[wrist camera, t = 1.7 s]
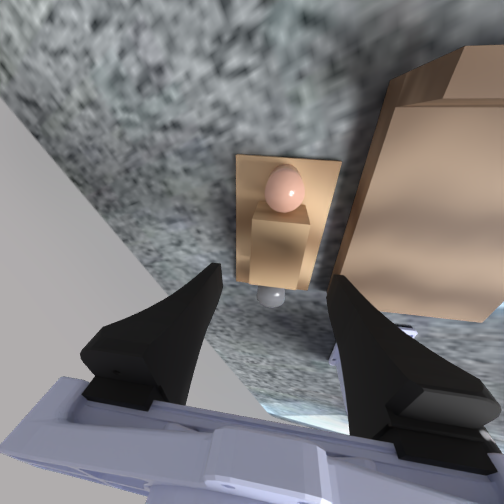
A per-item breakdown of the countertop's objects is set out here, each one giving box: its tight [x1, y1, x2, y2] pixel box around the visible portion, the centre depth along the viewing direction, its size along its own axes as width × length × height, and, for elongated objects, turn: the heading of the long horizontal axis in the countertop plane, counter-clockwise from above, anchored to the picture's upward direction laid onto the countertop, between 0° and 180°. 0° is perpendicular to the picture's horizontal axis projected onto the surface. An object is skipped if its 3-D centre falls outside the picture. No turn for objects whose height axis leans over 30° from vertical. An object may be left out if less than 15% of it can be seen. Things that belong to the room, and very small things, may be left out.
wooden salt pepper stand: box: [236, 154, 342, 308], centre depth 17 cm, size 13×8×5 cm, turn 177°
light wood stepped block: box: [327, 45, 504, 323], centre depth 14 cm, size 18×14×6 cm
